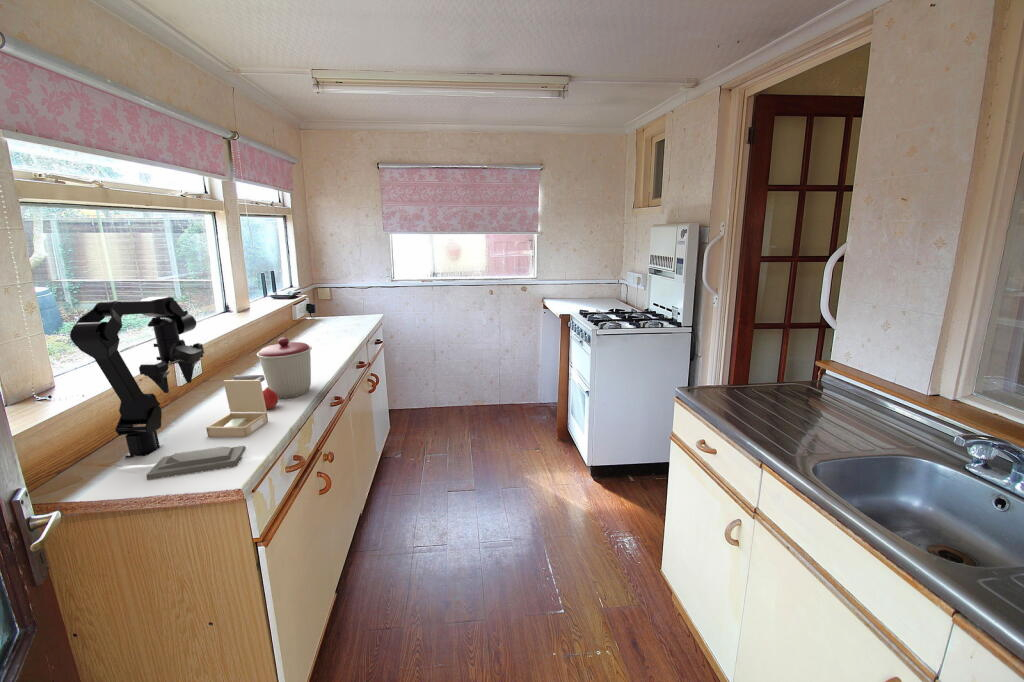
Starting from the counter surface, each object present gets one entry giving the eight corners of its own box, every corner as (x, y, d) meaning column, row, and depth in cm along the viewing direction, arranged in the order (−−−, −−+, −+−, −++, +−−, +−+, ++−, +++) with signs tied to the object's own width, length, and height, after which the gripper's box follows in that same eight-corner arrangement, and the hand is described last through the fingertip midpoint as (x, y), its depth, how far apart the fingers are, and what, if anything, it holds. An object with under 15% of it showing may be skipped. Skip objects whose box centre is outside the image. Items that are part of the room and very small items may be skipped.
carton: (247, 438, 141) (245, 427, 140) (208, 438, 142) (206, 427, 141) (268, 423, 152) (266, 412, 151) (232, 422, 153) (230, 412, 152)
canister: (252, 400, 172) (242, 343, 167) (286, 384, 189) (278, 331, 184) (296, 403, 167) (287, 344, 162) (327, 386, 184) (320, 332, 179)
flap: (259, 380, 147) (269, 374, 153) (223, 380, 149) (234, 374, 154) (265, 412, 150) (275, 405, 156) (230, 412, 151) (240, 405, 157)
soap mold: (164, 463, 129) (161, 451, 128) (246, 451, 134) (244, 439, 133) (147, 482, 119) (144, 469, 119) (237, 468, 124) (234, 456, 124)
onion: (258, 414, 159) (254, 391, 157) (262, 407, 165) (258, 385, 163) (278, 411, 161) (274, 388, 159) (281, 405, 166) (277, 383, 164)
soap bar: (238, 432, 144) (237, 426, 144) (224, 433, 144) (223, 426, 143) (247, 424, 150) (246, 418, 149) (233, 424, 150) (232, 418, 149)
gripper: (168, 346, 136) (180, 398, 139) (214, 331, 154) (223, 377, 157) (132, 346, 137) (144, 398, 140) (181, 331, 155) (190, 378, 158)
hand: (178, 387), depth 149 cm, fingers open, 9 cm apart
